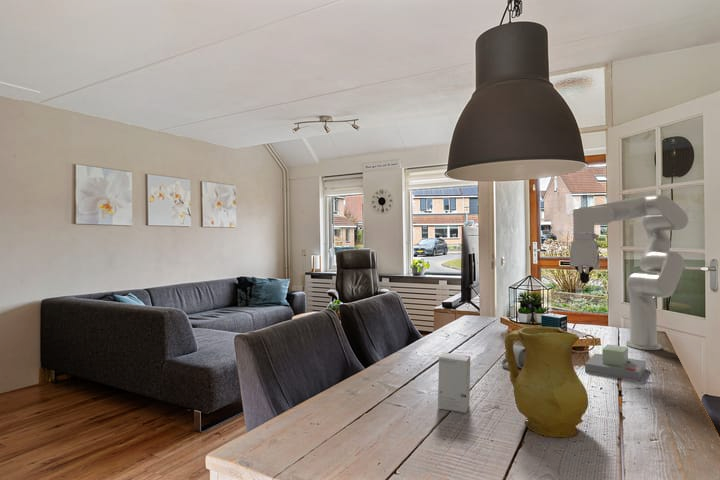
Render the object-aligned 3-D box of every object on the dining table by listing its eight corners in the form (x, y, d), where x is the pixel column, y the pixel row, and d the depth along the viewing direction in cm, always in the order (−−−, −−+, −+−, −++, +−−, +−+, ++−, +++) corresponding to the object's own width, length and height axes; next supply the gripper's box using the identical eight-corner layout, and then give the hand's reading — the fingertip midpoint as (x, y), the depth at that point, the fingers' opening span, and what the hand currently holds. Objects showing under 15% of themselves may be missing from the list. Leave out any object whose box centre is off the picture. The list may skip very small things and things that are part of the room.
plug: (607, 365, 154) (607, 344, 154) (628, 368, 150) (628, 347, 150) (602, 371, 148) (602, 349, 148) (624, 374, 144) (623, 352, 144)
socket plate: (595, 361, 160) (595, 351, 160) (645, 369, 150) (645, 359, 150) (585, 371, 148) (584, 361, 148) (638, 381, 138) (638, 370, 138)
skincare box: (437, 409, 119) (436, 357, 119) (442, 401, 124) (441, 351, 124) (467, 413, 116) (466, 360, 115) (471, 405, 121) (470, 354, 121)
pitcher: (546, 446, 96) (543, 336, 97) (498, 418, 114) (496, 325, 115) (606, 437, 101) (602, 332, 102) (550, 411, 119) (548, 322, 120)
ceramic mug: (518, 361, 162) (518, 342, 162) (534, 367, 154) (534, 347, 154) (496, 365, 158) (495, 345, 158) (511, 372, 150) (511, 350, 150)
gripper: (607, 237, 167) (607, 283, 167) (566, 237, 176) (567, 281, 176) (602, 237, 161) (603, 285, 161) (561, 237, 171) (562, 282, 171)
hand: (584, 282), depth 169 cm, fingers closed
